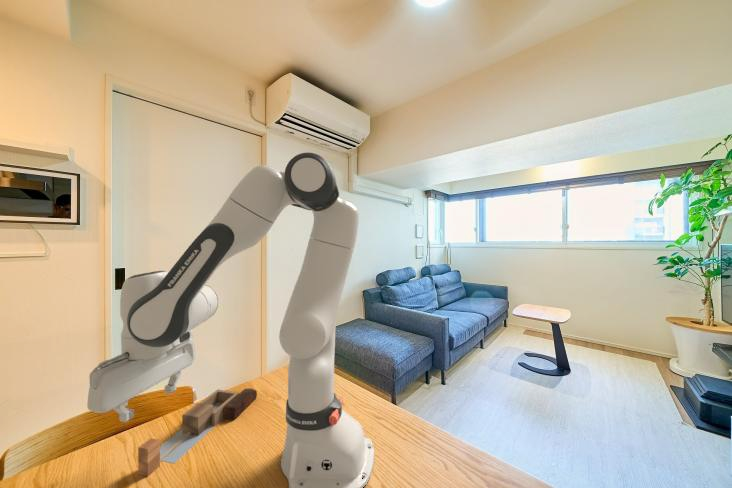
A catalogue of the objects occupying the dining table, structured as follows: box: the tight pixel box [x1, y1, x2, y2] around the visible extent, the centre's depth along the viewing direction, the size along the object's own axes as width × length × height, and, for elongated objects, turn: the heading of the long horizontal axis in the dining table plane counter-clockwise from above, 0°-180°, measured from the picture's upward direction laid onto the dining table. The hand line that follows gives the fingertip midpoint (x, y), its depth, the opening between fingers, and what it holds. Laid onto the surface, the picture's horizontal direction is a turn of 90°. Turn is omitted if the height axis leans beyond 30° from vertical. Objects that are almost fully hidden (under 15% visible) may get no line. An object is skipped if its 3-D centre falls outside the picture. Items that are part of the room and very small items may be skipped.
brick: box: [222, 387, 258, 421], centre depth 77 cm, size 11×4×5 cm, turn 170°
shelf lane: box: [160, 388, 240, 464], centre depth 69 cm, size 8×22×4 cm, turn 169°
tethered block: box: [137, 402, 213, 477], centre depth 63 cm, size 5×17×6 cm, turn 169°
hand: (150, 404), depth 56 cm, fingers open, 8 cm apart
